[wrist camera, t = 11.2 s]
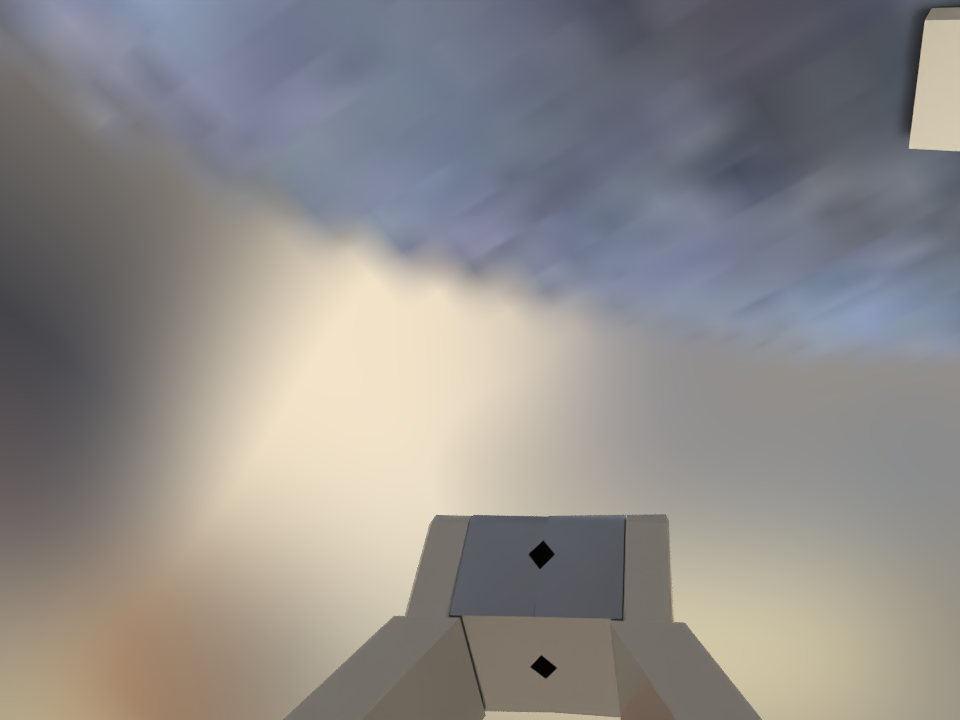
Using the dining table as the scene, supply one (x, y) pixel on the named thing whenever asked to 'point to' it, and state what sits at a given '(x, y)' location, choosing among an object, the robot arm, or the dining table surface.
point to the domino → (938, 84)
